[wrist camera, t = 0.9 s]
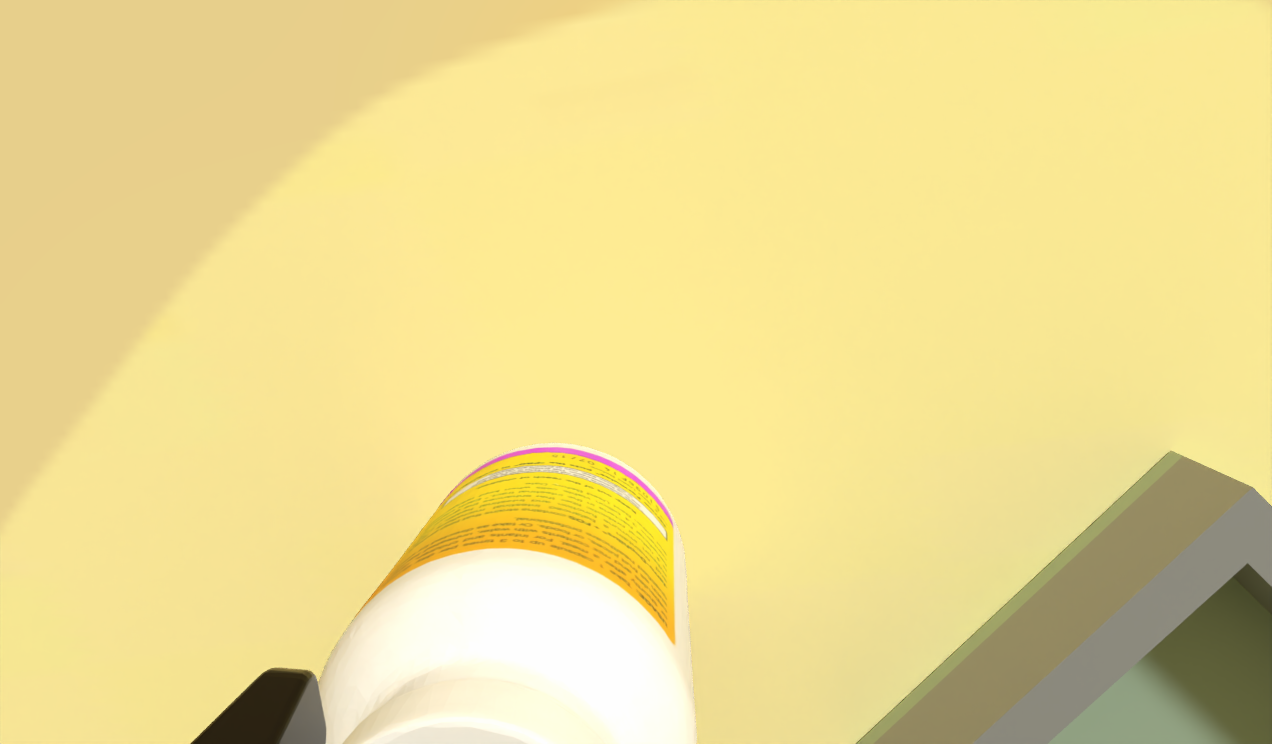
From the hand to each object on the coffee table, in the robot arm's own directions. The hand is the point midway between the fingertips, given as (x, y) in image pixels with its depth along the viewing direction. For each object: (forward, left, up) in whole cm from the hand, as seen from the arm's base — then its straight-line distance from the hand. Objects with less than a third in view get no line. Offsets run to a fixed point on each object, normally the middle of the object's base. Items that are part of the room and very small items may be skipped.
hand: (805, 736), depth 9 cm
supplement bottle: (-6, -1, -17) cm, 18 cm away
